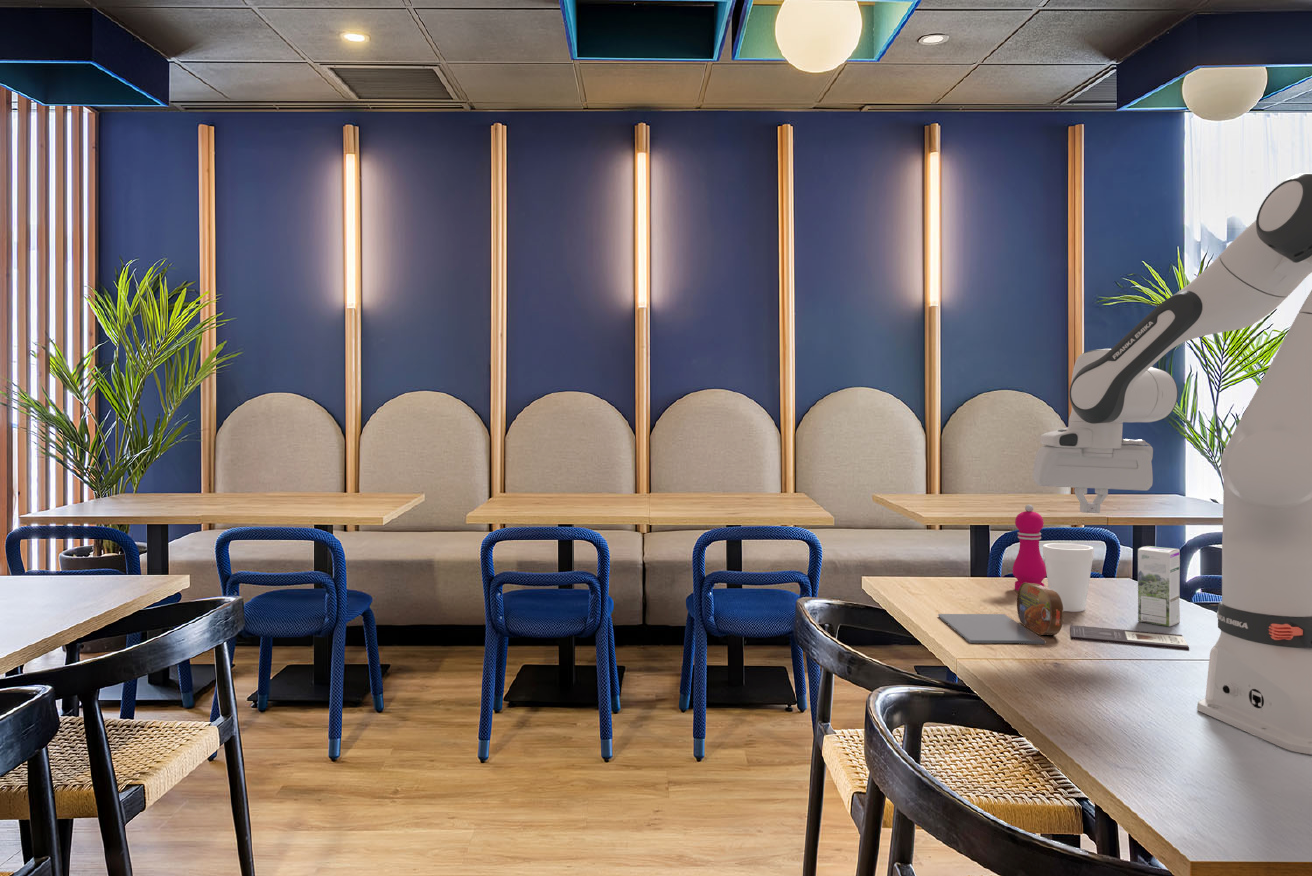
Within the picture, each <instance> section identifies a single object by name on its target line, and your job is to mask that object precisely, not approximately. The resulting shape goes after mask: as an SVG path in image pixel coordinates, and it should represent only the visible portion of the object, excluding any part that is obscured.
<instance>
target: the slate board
mask: <svg viewBox="0 0 1312 876" xmlns="http://www.w3.org/2000/svg"><path fill="white" fill-rule="evenodd" d="M938 616H939V617H940V618H941V621H943V622H944V623H945V622H946V623H948V624H949V625H950V626H951V627H952V628H953V629H955V630H956V631H957V632H958V633H959V634H960V635H959V634H958V633H957V632H956V631H955V630H954V631H955V632H956V633H957V634H958V635H959V636H960V637H962V636H963V637H964V638H965V639H966V642H968V643H969V644H970V643H1019V644H1020V643H1021V644H1020V645H1026V644H1027V645H1029V644H1031V645H1046V639H1043V638H1042V637H1040V636H1039V635H1038V634H1037V633H1035V632H1034V631H1032V630H1031V629H1029V628H1027V627H1026V626H1024V625H1023V624H1020V623H1019V622H1018V621H1016V620H1014V619H1012V618H1011V617H1010V616H1008V615H1007V614H1004V613H938ZM938 616H937V617H938ZM939 617H938V618H939ZM940 618H939V619H940ZM946 623H945V624H946ZM948 624H947V625H948ZM949 625H948V626H949ZM950 626H949V627H950ZM951 627H950V628H951ZM952 628H951V629H952ZM953 629H952V630H953ZM963 637H962V638H963ZM964 638H963V639H964ZM965 639H964V640H965ZM1022 643H1023V644H1022ZM1025 643H1026V644H1025ZM1019 644H1018V645H1019Z"/></svg>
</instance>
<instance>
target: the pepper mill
mask: <svg viewBox="0 0 1312 876" xmlns="http://www.w3.org/2000/svg"><path fill="white" fill-rule="evenodd" d="M1024 510H1025V511H1021V512H1019V513H1018V514H1017V515H1016V517H1015V520H1014V523H1015V527H1016V528H1017V529H1018V531H1017V538H1018V539H1019V549H1018V552H1017V556H1016V558H1015V560H1014V562H1013V566H1012V570H1011V571H1012V575H1013V576H1014V577H1015V579H1016V581H1014V590H1015V591H1017V592H1018V591H1019V588H1020V586H1021V585H1022V584H1023V583H1025V582H1026V583H1034V584H1039V585H1041V586H1044V587H1045V583H1044V582H1043V581H1044V580H1045V578H1047V573H1046V566H1045V560H1044V559H1043V558H1042V557H1043V556H1042V554H1041V550H1040V540H1041V539H1042V536H1041V535H1042V533H1041V530H1042V529H1043V528H1044V524H1045V523H1044V522H1045V521H1044V519H1043V516H1042V515H1041V514H1040V513H1038V512H1035V511H1034V506H1033V505H1032V504H1027V505H1025V507H1024Z"/></svg>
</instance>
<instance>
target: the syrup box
mask: <svg viewBox="0 0 1312 876" xmlns="http://www.w3.org/2000/svg"><path fill="white" fill-rule="evenodd" d="M1180 554H1181V553H1180V548H1172V547H1160V546H1153V545H1152V546H1151V545H1146V546H1141V547H1139V548H1137V621H1138V622H1139V623H1140V622H1141V623H1144V624H1145V623H1146V624H1152V625H1158V626H1163V627H1173V626H1175V625H1177V624H1179V623H1180V620H1181V613H1180V576H1181V575H1180V574H1181V573H1180V572H1181V571H1180V567H1181V565H1180V564H1181V559H1180V557H1181V555H1180Z"/></svg>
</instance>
